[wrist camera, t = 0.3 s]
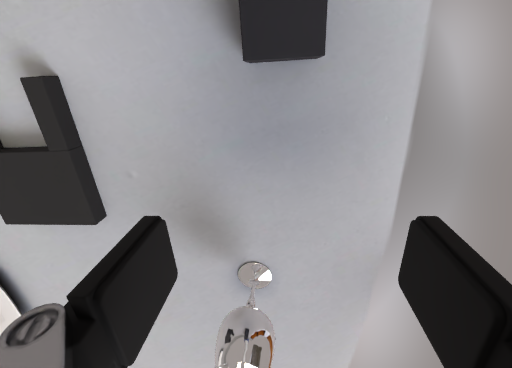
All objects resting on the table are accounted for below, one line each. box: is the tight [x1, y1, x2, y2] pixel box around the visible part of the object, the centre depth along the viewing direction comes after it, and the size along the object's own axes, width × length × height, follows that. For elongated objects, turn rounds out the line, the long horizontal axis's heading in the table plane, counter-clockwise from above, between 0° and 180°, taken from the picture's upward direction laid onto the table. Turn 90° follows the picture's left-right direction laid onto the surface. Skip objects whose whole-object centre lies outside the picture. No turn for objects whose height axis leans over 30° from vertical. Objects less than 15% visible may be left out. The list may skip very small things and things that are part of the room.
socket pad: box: [0, 76, 107, 225], centre depth 27 cm, size 16×12×2 cm
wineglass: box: [215, 262, 275, 368], centre depth 27 cm, size 6×6×12 cm
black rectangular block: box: [239, 0, 327, 63], centre depth 19 cm, size 8×6×4 cm
